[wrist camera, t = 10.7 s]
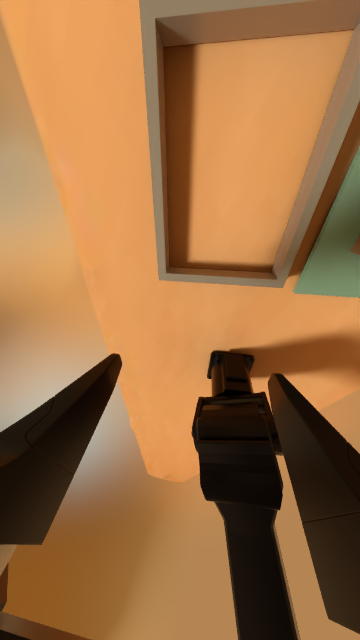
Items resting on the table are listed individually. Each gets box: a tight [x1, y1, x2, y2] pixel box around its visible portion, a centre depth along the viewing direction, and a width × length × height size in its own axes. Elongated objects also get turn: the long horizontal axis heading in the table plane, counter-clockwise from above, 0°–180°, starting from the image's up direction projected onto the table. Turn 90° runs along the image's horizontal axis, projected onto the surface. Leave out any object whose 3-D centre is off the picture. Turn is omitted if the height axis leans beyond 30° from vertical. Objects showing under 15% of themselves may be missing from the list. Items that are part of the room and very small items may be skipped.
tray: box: [139, 0, 360, 288], centre depth 13 cm, size 16×13×2 cm
